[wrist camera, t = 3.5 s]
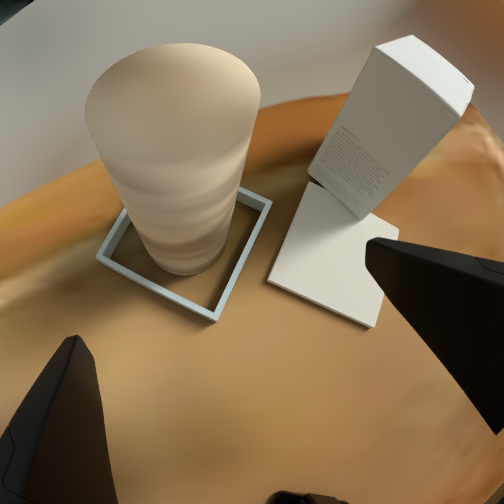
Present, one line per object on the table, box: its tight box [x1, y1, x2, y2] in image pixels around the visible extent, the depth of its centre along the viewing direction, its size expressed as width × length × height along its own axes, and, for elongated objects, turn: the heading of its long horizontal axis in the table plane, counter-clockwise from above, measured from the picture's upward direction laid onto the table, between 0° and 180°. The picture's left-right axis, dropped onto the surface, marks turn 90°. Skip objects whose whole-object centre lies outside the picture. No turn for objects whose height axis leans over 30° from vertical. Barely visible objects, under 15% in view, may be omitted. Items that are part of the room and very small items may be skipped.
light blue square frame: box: [95, 186, 273, 322], centre depth 21 cm, size 9×9×2 cm
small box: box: [307, 35, 475, 220], centre depth 20 cm, size 8×6×13 cm
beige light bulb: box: [85, 43, 260, 276], centre depth 15 cm, size 6×6×14 cm
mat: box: [267, 181, 399, 328], centre depth 23 cm, size 9×9×1 cm
